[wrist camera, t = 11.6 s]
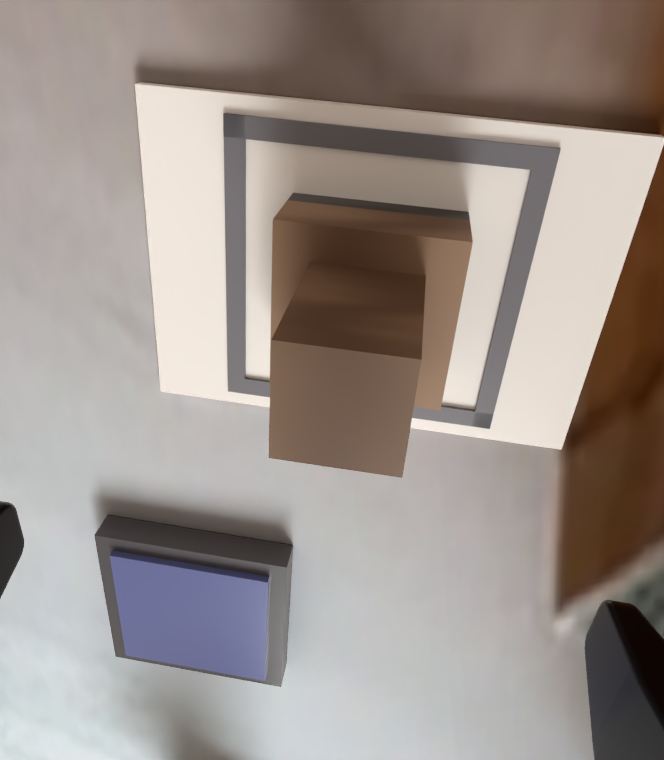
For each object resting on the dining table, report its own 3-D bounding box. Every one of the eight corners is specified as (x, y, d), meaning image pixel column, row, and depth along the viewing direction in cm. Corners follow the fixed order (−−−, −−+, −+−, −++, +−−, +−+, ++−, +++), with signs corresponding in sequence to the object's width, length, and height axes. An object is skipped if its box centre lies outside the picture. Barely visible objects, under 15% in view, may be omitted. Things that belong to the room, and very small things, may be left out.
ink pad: (293, 545, 26) (285, 573, 25) (286, 663, 30) (279, 692, 29) (107, 515, 27) (91, 540, 25) (126, 634, 31) (112, 662, 30)
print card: (661, 135, 16) (667, 138, 16) (559, 442, 22) (561, 451, 21) (140, 82, 17) (133, 84, 17) (165, 385, 23) (159, 393, 22)
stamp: (468, 211, 18) (483, 320, 12) (440, 365, 20) (440, 517, 14) (293, 192, 18) (221, 287, 12) (287, 345, 21) (226, 485, 15)
